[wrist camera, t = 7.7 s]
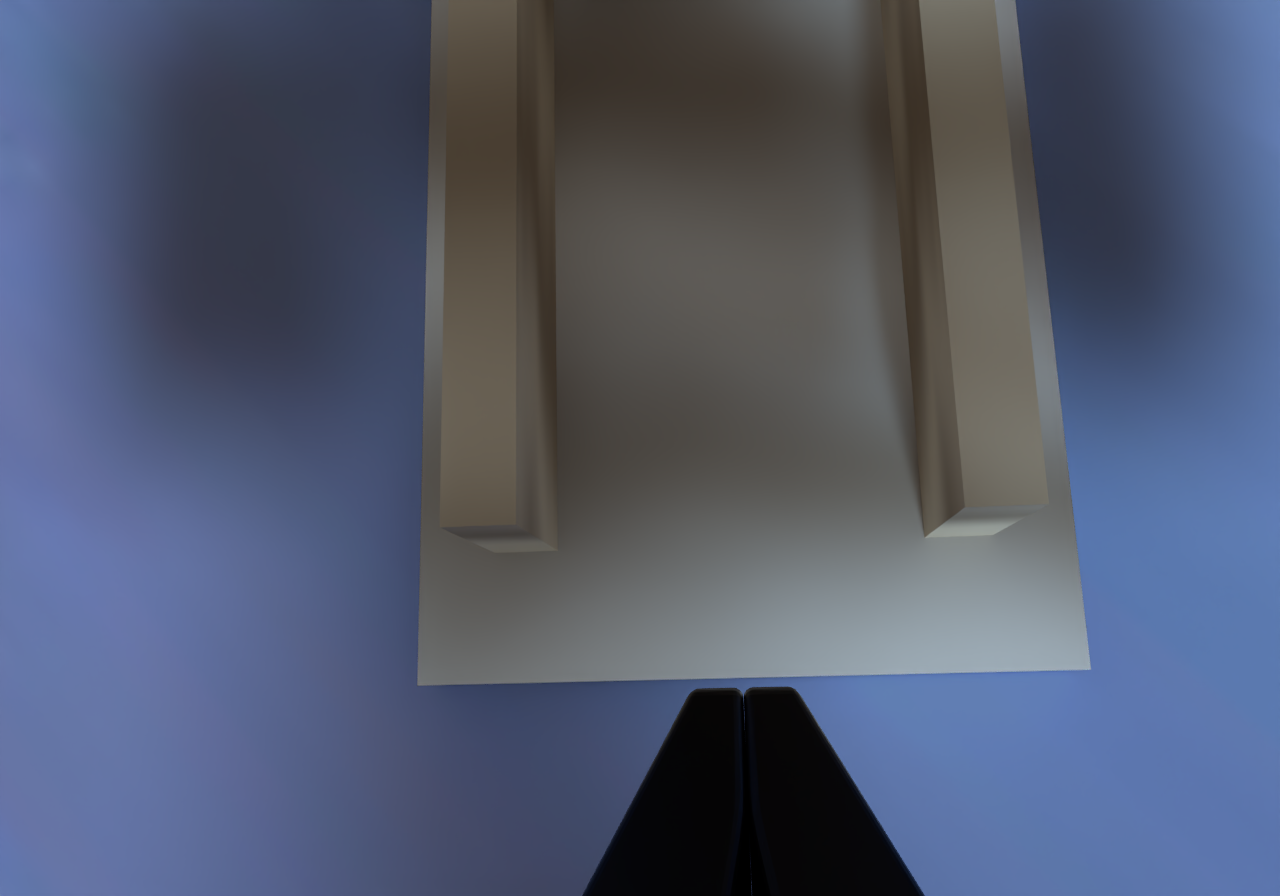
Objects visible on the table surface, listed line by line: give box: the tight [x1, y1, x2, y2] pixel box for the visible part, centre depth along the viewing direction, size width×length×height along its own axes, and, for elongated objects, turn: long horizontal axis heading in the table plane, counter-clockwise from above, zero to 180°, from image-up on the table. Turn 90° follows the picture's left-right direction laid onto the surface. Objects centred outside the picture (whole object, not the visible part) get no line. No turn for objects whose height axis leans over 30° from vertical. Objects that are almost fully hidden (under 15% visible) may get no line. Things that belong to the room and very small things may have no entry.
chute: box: [417, 0, 1091, 686], centre depth 16 cm, size 18×10×4 cm, turn 2°
